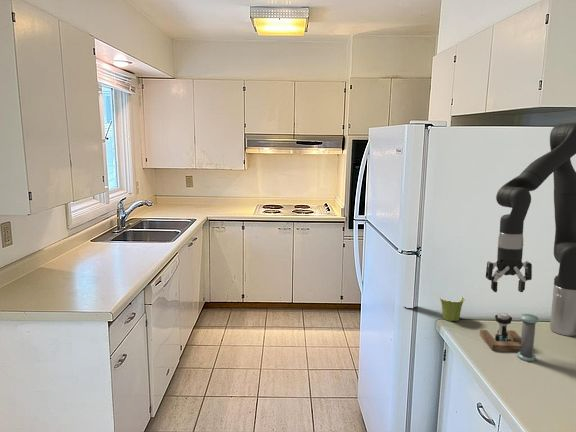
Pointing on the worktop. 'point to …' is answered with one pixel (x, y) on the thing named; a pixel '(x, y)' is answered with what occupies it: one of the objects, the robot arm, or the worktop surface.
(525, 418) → the worktop surface
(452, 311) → the plant pot
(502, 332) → the push button
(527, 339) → the spool
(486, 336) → the notched board
